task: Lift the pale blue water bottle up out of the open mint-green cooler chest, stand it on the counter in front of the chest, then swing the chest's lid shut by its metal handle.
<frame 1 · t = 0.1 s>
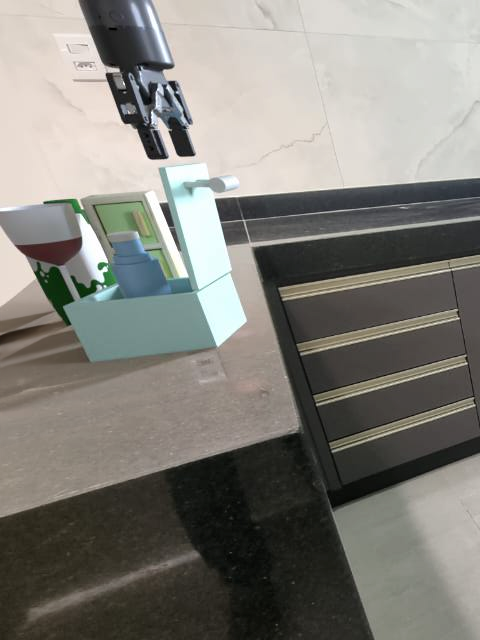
hand: (173, 158, 76), 26 cm above the counter, tool pointing down, fingers open, 8 cm apart
milk carton: (97, 319, 94), on the counter
water bottle: (167, 340, 79), point 1 cm above the counter, touching cooler
wineglass: (93, 333, 87), on the counter
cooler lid: (219, 224, 76), point 17 cm above the counter, hinge at 95.0°
cooler: (178, 345, 80), on the counter
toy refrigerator: (171, 321, 91), on the counter
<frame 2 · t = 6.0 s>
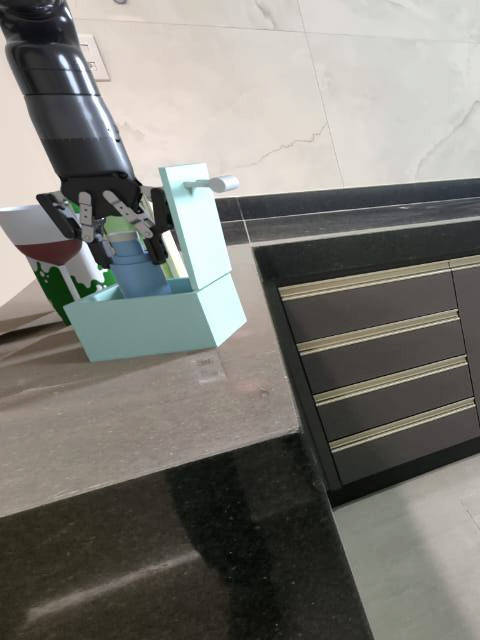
hand: (135, 265, 74), 12 cm above the counter, tool pointing down, fingers closed on water bottle, 5 cm apart
water bottle: (167, 340, 79), point 1 cm above the counter, touching cooler, gripper
everything else where it was.
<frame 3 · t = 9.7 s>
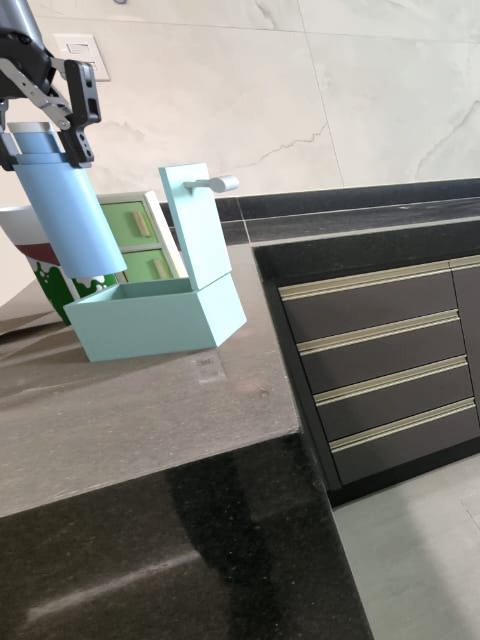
hand: (50, 168, 57), 26 cm above the counter, tool pointing down, fingers closed on water bottle, 5 cm apart
water bottle: (97, 272, 61), point 15 cm above the counter, touching gripper
everything else where it was.
when the fingers open (11 cm above the counter, at t = 13.4 s): water bottle stays where it is, on the counter.
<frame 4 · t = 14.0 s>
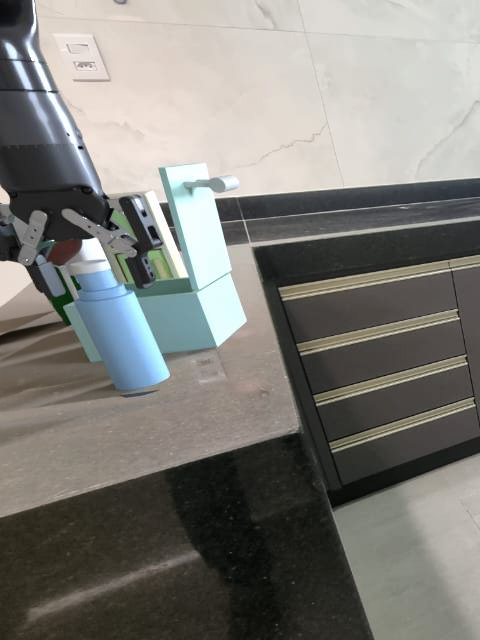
hand: (102, 291, 61), 13 cm above the counter, tool pointing down, fingers open, 8 cm apart
water bottle: (146, 387, 66), on the counter
everything else where it was.
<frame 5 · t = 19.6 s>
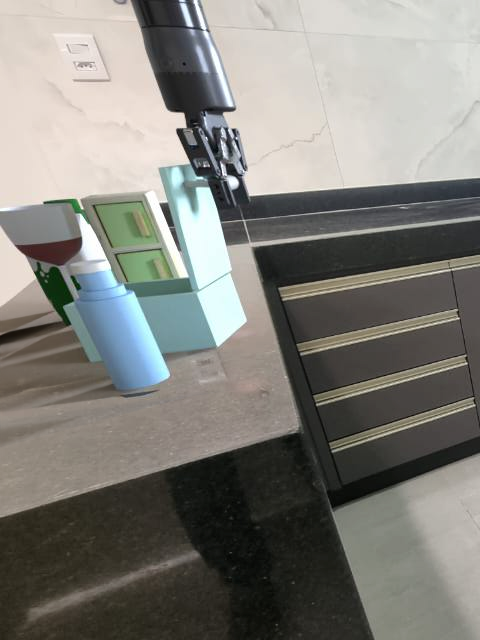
hand: (235, 206, 75), 20 cm above the counter, tool pointing down, fingers closed on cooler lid, 5 cm apart
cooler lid: (219, 224, 76), point 17 cm above the counter, hinge at 95.0°, touching gripper
everything else where it was.
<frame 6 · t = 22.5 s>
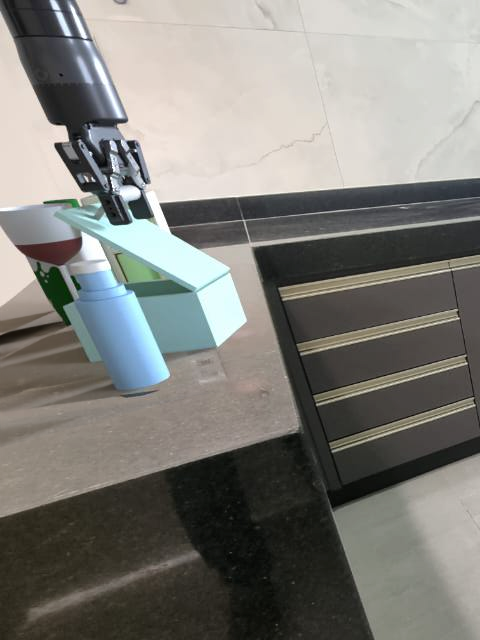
hand: (134, 221, 73), 18 cm above the counter, tool pointing down, fingers closed on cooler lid, 5 cm apart
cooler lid: (161, 231, 74), point 17 cm above the counter, hinge at 44.5°, touching gripper
everything else where it was.
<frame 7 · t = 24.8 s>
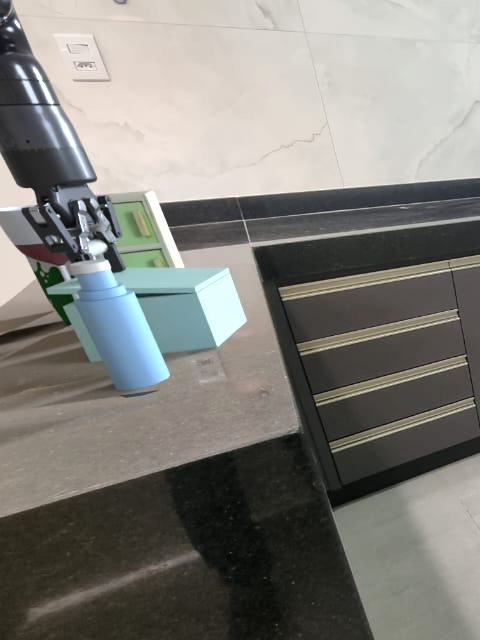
hand: (105, 275, 74), 11 cm above the counter, tool pointing down, fingers closed on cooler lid, 5 cm apart
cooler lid: (142, 263, 75), point 13 cm above the counter, hinge at 6.1°, touching gripper
everything else where it was.
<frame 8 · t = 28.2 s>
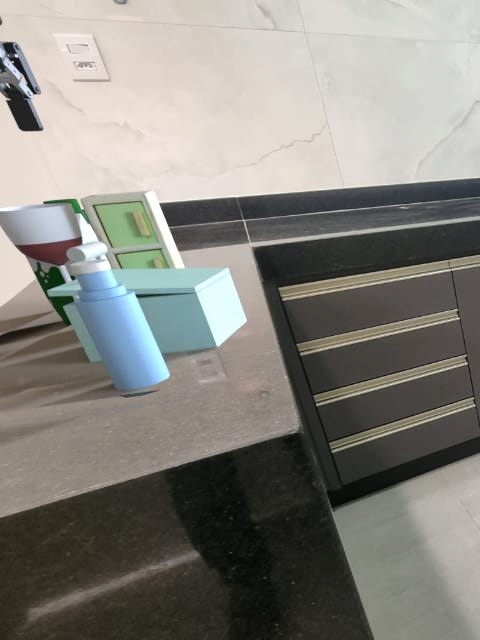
hand: (8, 131, 65), 30 cm above the counter, tool pointing down, fingers open, 8 cm apart
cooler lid: (142, 264, 75), point 13 cm above the counter, hinge at 5.1°
everything else where it was.
at the end: water bottle inside the target area (0.1 cm from its centre), on the counter; water bottle tilted 0°; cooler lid at +5° (first picture: +95°) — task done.
